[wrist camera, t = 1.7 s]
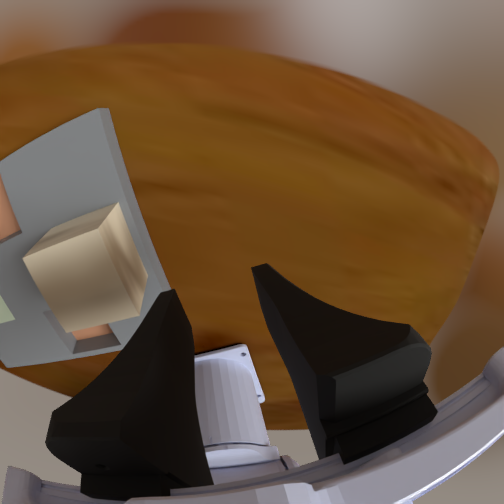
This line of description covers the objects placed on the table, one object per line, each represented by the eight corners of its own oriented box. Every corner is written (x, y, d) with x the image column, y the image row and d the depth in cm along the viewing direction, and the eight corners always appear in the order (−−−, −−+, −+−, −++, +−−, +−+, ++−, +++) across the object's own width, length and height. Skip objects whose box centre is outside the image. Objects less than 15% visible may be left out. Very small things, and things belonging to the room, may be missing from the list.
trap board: (184, 318, 22) (184, 336, 20) (13, 354, 20) (7, 367, 19) (108, 108, 14) (98, 107, 12) (-63, 215, 13) (-76, 224, 11)
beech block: (147, 275, 17) (139, 315, 14) (83, 293, 17) (66, 332, 13) (118, 201, 15) (97, 228, 11) (51, 228, 15) (22, 258, 11)
